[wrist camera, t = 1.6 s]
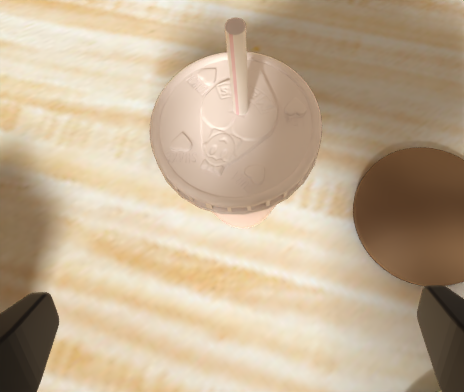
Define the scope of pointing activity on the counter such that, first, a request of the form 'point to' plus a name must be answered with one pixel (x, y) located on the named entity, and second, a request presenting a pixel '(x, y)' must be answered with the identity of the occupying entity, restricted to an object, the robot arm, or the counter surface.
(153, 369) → the counter surface
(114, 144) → the counter surface
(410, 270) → the disc
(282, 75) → the smoothie
